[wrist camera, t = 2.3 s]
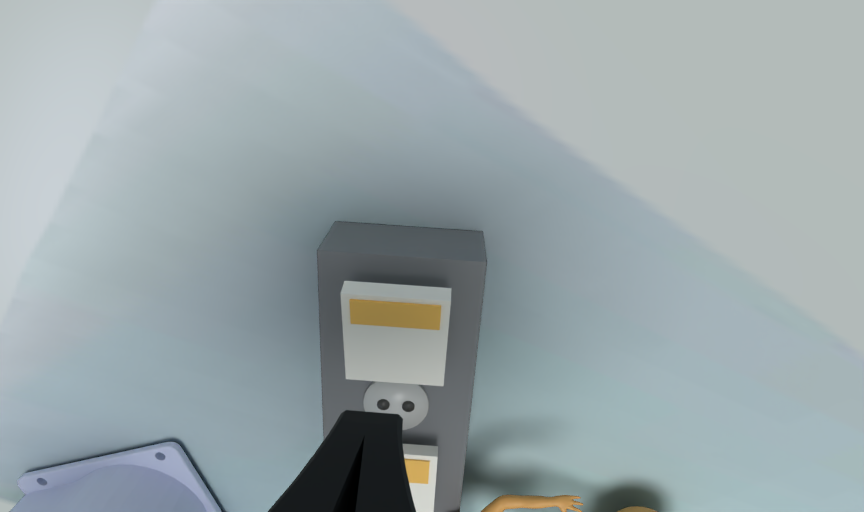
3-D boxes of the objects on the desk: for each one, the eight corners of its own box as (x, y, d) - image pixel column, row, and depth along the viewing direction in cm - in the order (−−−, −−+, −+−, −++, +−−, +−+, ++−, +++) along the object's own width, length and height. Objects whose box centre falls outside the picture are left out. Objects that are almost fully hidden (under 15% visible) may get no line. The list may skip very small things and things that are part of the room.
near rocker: (444, 363, 20) (443, 388, 19) (351, 356, 20) (345, 380, 19) (451, 280, 18) (450, 303, 17) (347, 272, 18) (339, 295, 17)
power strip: (454, 500, 27) (455, 558, 24) (340, 491, 27) (326, 548, 24) (482, 231, 21) (487, 265, 18) (335, 221, 21) (315, 253, 18)
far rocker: (432, 521, 22) (431, 543, 21) (349, 515, 23) (343, 536, 21) (438, 439, 22) (437, 458, 20) (351, 433, 22) (346, 451, 20)
